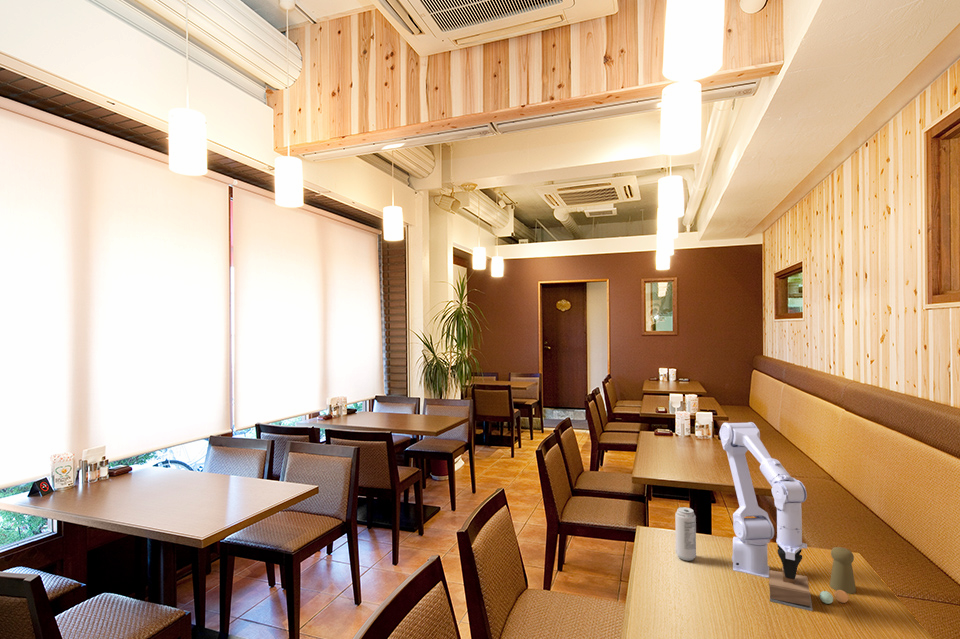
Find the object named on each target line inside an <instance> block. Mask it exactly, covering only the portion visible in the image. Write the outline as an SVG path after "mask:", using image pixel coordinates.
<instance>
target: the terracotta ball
mask: <svg viewBox="0 0 960 639" xmlns="http://www.w3.org/2000/svg"><path fill="white" fill-rule="evenodd" d="M833 594H834V595H833V596H834V598H835V600H837V602H839V603H841V604H842V603H843V604H844V603H845V604H846V603H847V602H848V601H849V594H847V593H846V592H844V591H842V590H837V591H836V590H835V592H834V593H833Z"/></svg>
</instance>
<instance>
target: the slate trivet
mask: <svg viewBox="0 0 960 639" xmlns="http://www.w3.org/2000/svg"><path fill="white" fill-rule="evenodd" d="M809 593H810V606H806V605H801V604H796V603H791V602H786V601H781V600H775V599H770V598H769V602H772V603H776V604H781V605H785V606H789V607H792V608H797V609H800V610H805V611H809V612H813V604H812V598H811V592H810V591H809Z"/></svg>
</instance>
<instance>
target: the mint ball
mask: <svg viewBox="0 0 960 639" xmlns="http://www.w3.org/2000/svg"><path fill="white" fill-rule="evenodd" d="M833 596H834V595H832V594H831V592H830V591H827V590H822V591H820V592H819V596H818V597H819V599H820V600H821V602H822V603H824V604H827V605H829V604H832V603H833V602H834V597H833Z"/></svg>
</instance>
